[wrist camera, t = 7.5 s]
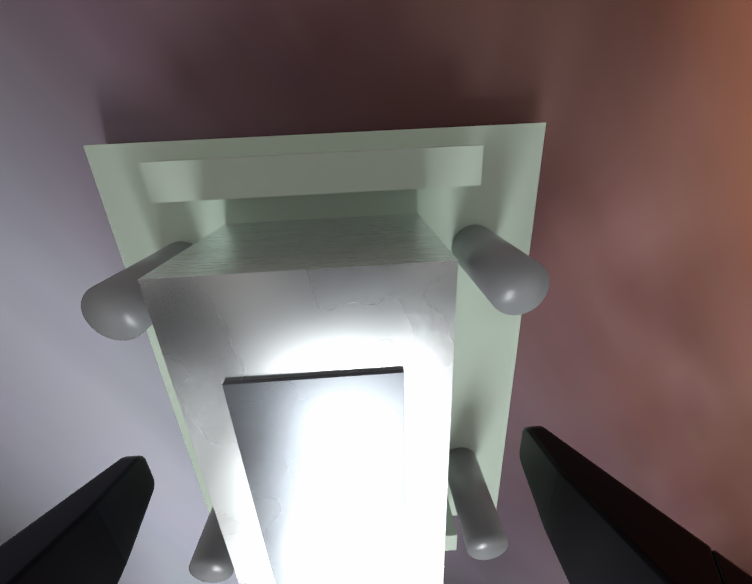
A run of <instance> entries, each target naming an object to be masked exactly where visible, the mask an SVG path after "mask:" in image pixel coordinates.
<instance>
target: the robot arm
mask: <svg viewBox="0 0 752 584" xmlns="http://www.w3.org/2000/svg"><path fill="white" fill-rule="evenodd" d="M520 460H521V464H522V467H523V470H524V472H525V475H526V478H527V481H528V484H529V487H530V490H531V492H532V495H533V498H534V501H535V504H536V507H537V509H538V512H539V515H540V518H541V521H542V523H543V526H544V529H545V531H546V533H547V536H548V538H549V540H550V542H551V545H552V547H553V549H554V551H555V553H556V555H557V557H558V560H559V562H560V564H561V566H562V568H563V570H564V573H565V575H566V577H567V579H568V581H569V583H570V584H752V576H750V575H749V574H748V573H746V572H745V571H743V570H742V569H740V568H739V567H738V566H736V565H735V564H733V563H732V562H731V561H729V560H728V559H726V558H725V557H724V556H722V555H721V554H719V553H718V552H717V551H714V550H713V551H712V550H711V548H710V547H709V546H708V545H707V544H705V543H704V542H703V541H701V540H700V539H698V538H697V537H696V536H694V535H693V534H691V533H690V532H689V531H687V530H686V529H684V528H683V527H682V526H680V525H679V524H677V523H676V522H675V521H673V520H672V519H671V518H669V517H668V516H666V515H665V514H664V513H662V512H661V511H659V510H658V509H657V508H655V507H654V506H652V505H651V504H650V503H648V502H647V501H645V500H644V499H643V498H641V497H640V496H639V495H637V494H636V493H634V492H633V491H632V490H630V489H629V488H627V487H626V486H625V485H623V484H622V483H620V482H619V481H618V480H616V479H615V478H613V477H612V476H611V475H609V474H608V473H607V472H605V471H604V470H602V469H601V468H600V467H598V466H597V465H595V464H594V463H593V462H591V461H590V460H588V459H587V458H586V457H584V456H583V455H581V454H580V453H579V452H577V451H576V450H574V449H573V448H572V447H570V446H569V445H568V444H566V443H565V442H563V441H562V440H561V439H559V438H558V437H556V436H555V435H554V434H552V433H551V432H549V431H548V430H547V429H545V428H544V427H541V426H532V427H525V428H524V429H523V432H522V439H521V445H520ZM153 490H154V479H153V476H152V474H151V471H150V469H149V466H148V464H147V461H146V459H145V458H144V457H143V456H128V457H123V458H121V459H120V460H118V461H117V462H116V463H114V464H113V465H111V466H110V467H109V468H107V469H106V470H105V471H103V472H102V473H100V474H99V475H98V476H96V477H95V478H93V479H92V480H91V481H89V482H88V483H87V484H85V485H84V486H82V487H81V488H80V489H78V490H77V491H76V492H74V493H73V494H71V495H70V496H69V497H67V498H66V499H65V500H63V501H62V502H60V503H59V504H58V505H56V506H55V507H54V508H52V509H51V510H49V511H48V512H47V513H45V514H44V515H43V516H41V517H40V518H38V519H37V520H36V521H34V522H33V523H32V524H30V525H29V526H27V527H26V528H25V529H23V530H22V531H21V532H19V533H18V534H16V535H15V536H14V537H12V538H11V539H10V540H8V541H7V542H5V543H4V544H3V545H1V546H0V584H117V583H118V581H119V579H120V577H121V575H122V573H123V570H124V568H125V566H126V563H127V561H128V558H129V556H130V553H131V551H132V548H133V545H134V543H135V540H136V537H137V534H138V532H139V529H140V526H141V523H142V521H143V518H144V515H145V512H146V510H147V507H148V504H149V501H150V499H151V496H152V493H153Z"/></svg>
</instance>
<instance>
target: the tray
mask: <svg viewBox="0 0 752 584" xmlns="http://www.w3.org/2000/svg"><path fill="white" fill-rule="evenodd" d="M545 128H546V123H526V124H506V125H486V126H465V127H445V128H425V129H405V130H384V131H364V132H344V133H324V134H303V135H283V136H263V137H243V138H222V139H202V140H182V141H162V142H141V143H121V144H101V145H83V147H84V150H85V153H86V156H87V159H88V162H89V165H90V168H91V170H92V173H93V176H94V179H95V182H96V185H97V188H98V191H99V194H100V197H101V200H102V202H103V205H104V208H105V211H106V214H107V217H108V220H109V223H110V226H111V229H112V232H113V235H114V237H115V240H116V243H117V246H118V249H119V252H120V255H121V258H122V261H123V264H124V267H125V269H124V270H122V271H120V272H119V273H117V274H115V275H113V276H111V277H110V278H108V279H106V280H104V281H102V282H100V283H99V284H97V285H95V286H93V287H91V288H90V289H88V290H87V291H86V292H85V294H84V295H83V297H82V300H81V310H82V314H83V316H84V318H85V320H86V321H87V323H88V324H89V325H90V326H91V327H92V328H93V329H94V330H95V331H97V332H98V333H100V334H101V335H103V336H105V337H108V338H111V339H115V340H131V339H134V338H137V337H138V336H140V335H141V334H142V333H144V332H145V331H147V334H148V337H149V339H150V342H151V345H152V348H153V351H154V354H155V357H156V360H157V363H158V366H159V369H160V371H161V374H162V377H163V380H164V383H165V386H166V389H167V392H168V395H169V398H170V401H171V404H172V406H173V409H174V412H175V415H176V418H177V421H178V424H179V427H180V430H181V433H182V436H183V439H184V441H185V444H186V447H187V450H188V453H189V456H190V459H191V462H192V465H193V468H194V471H195V473H196V476H197V479H198V482H199V485H200V488H201V491H202V494H203V497H204V500H205V503H206V506H207V508H208V511H209V517H208V519H207V522H206V524H205V527H204V529H203V532H202V534H201V537H200V540H199V542H198V545H197V547H196V550H195V552H194V555H193V557H192V560H191V562H190V565H189V571H190V573H191V575H192V576H194V577H195V578H197V579H199V580H201V581H205V582H221V581H224V580H226V579H228V578H230V577H231V575H232V574H233V571H234V567H233V564H232V561H231V558H230V555H229V552H228V549H227V546H226V543H225V540H224V537H223V534H222V531H221V528H220V525H219V522H218V519H217V516H216V513H215V510H214V507H213V504H212V501H211V498H210V495H209V492H208V489H207V486H206V483H205V480H204V477H203V474H202V471H201V468H200V465H199V462H198V459H197V456H196V453H195V450H194V447H193V444H192V441H191V438H190V435H189V432H188V429H187V426H186V423H185V420H184V417H183V414H182V411H181V408H180V405H179V402H178V399H177V396H176V393H175V390H174V387H173V384H172V381H171V378H170V375H169V372H168V369H167V366H166V363H165V360H164V357H163V354H162V351H161V348H160V345H159V342H158V339H157V336H156V333H155V330H154V327H153V324H152V321H151V318H150V315H149V312H148V309H147V306H146V303H145V300H144V297H143V294H142V291H141V288H140V285H139V282H138V279H139V278H141V277H143V276H144V275H146V274H147V273H149V272H150V271H152V270H154V269H155V268H157V267H158V266H160V265H162V264H163V263H165V262H166V261H168V260H169V259H171V258H173V257H174V256H176V255H177V254H179V253H181V252H182V251H184V250H185V249H187V248H189V247H190V246H192V245H193V244H195V243H196V242H198V241H200V240H201V239H203V238H204V237H206V236H208V235H209V234H211V233H212V232H214V231H215V230H217V229H219V228H220V227H222V226H223V225H225V224H236V223H254V222H271V221H289V220H307V219H324V218H342V217H360V216H378V215H395V214H413V213H418V214H419V215H420V216H421V217H422V218H423V220H424V221H425V222H426V223H427V224H428V225H429V227H430V228H431V229H432V230H433V231H434V233H435V234H436V235H437V236H438V237H439V238H440V240H441V241H442V242H443V243H444V244H445V245H446V247H447V248H448V249H449V250H450V251H451V253H452V254H453V255H454V256H455V257H456V258H457V260H458V273H457V295H456V316H455V337H454V359H453V380H452V402H451V423H450V444H449V466H448V487H447V509H446V530H445V551H449V550H456V545H457V532H456V529H455V525H454V521H453V517H452V516H454V515H457V516H458V520H459V524H460V527H461V531H462V535H463V538H464V542H465V546H466V550H467V553H468V554H469V555H470V556H471V557H472V558H475V559H478V560H489V559H493V558H496V557H498V556H500V555H501V554H503V553H504V552H505V551H506V549H507V548H508V540H507V537H506V535H505V532H504V529H503V527H502V524H501V521H500V519H499V516H498V513H497V511H496V508H497V500H498V492H499V484H500V477H501V469H502V461H503V453H504V446H505V438H506V430H507V422H508V415H509V407H510V399H511V391H512V384H513V376H514V368H515V360H516V353H517V345H518V337H519V329H520V322H521V314H524V313H527V312H529V311H531V310H533V309H534V308H536V307H537V306H538V305H539V304H540V303H541V302H542V301H543V299H544V298H545V296H546V294H547V292H548V289H549V275H548V272H547V271H546V269H545V268H544V266H543V265H541V264H540V263H539V262H537V261H536V260H534V259H533V258H531V257H530V256H529V252H530V244H531V236H532V229H533V221H534V213H535V205H536V197H537V190H538V182H539V174H540V166H541V159H542V151H543V143H544V135H545Z"/></svg>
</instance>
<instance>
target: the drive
mask: <svg viewBox="0 0 752 584" xmlns="http://www.w3.org/2000/svg"><path fill="white" fill-rule="evenodd" d="M457 273H458V260H457V258H456V257H455V256H454V255H453V254H452V253H451V251H450V250H449V249H448V248H447V247H446V245H445V244H444V243H443V242H442V241H441V240H440V238H439V237H438V236H437V235H436V234H435V233H434V231H433V230H432V229H431V228H430V227H429V225H428V224H427V223H426V222H425V221H424V220H423V218H422V217H421V216H420V215H419V214H418V213H413V214H395V215H378V216H360V217H342V218H324V219H307V220H289V221H271V222H254V223H236V224H225V225H223V226H222V227H220V228H219V229H217V230H215V231H214V232H212V233H211V234H209V235H208V236H206V237H204V238H203V239H201V240H200V241H198V242H196V243H195V244H193V245H192V246H190V247H189V248H187V249H185V250H184V251H182V252H181V253H179V254H177V255H176V256H174V257H173V258H171V259H169V260H168V261H166V262H165V263H163V264H162V265H160V266H158V267H157V268H155V269H154V270H152V271H150V272H149V273H147V274H146V275H144V276H143V277H141V278H139V279H138V282H139V285H140V288H141V291H142V294H143V297H144V300H145V303H146V306H147V309H148V312H149V315H150V318H151V321H152V324H153V327H154V330H155V333H156V336H157V339H158V342H159V345H160V348H161V351H162V354H163V357H164V360H165V363H166V366H167V369H168V372H169V375H170V378H171V381H172V384H173V387H174V390H175V393H176V396H177V399H178V402H179V405H180V408H181V411H182V414H183V417H184V420H185V423H186V426H187V429H188V432H189V435H190V438H191V441H192V444H193V447H194V450H195V453H196V456H197V459H198V462H199V465H200V468H201V471H202V474H203V477H204V480H205V483H206V486H207V489H208V492H209V495H210V498H211V501H212V504H213V507H214V510H215V513H216V516H217V519H218V522H219V525H220V528H221V531H222V534H223V537H224V540H225V543H226V546H227V549H228V552H229V555H230V558H231V561H232V564H233V567H234V570H235V573H236V576H237V579H238V582H239V584H443V573H444V551H445V530H446V509H447V487H448V466H449V444H450V423H451V402H452V380H453V359H454V337H455V316H456V295H457Z"/></svg>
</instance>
